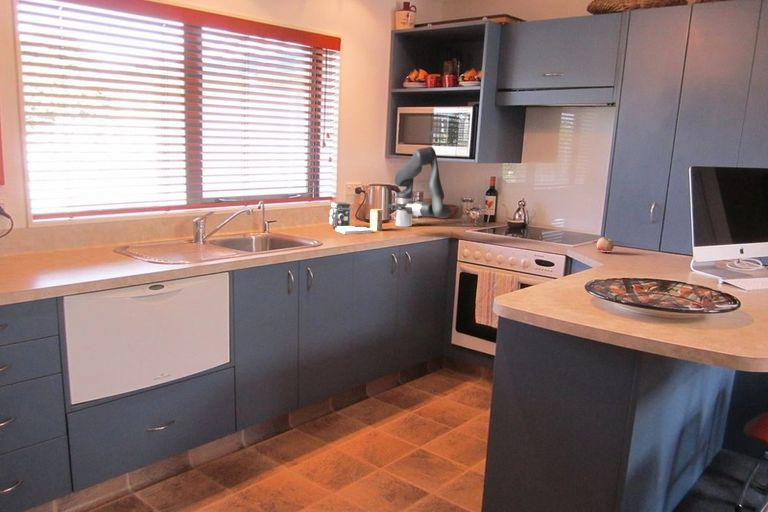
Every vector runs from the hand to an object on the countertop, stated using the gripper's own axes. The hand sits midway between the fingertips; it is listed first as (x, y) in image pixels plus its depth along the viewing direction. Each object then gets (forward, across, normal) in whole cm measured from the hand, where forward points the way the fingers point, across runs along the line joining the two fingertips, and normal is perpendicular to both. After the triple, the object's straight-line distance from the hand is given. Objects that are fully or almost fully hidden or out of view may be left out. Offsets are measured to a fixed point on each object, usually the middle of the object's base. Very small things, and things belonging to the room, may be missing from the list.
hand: (392, 205), depth 346 cm
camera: (+29, +12, +16) cm, 35 cm away
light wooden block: (+12, 0, +15) cm, 19 cm away
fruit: (-109, -37, +17) cm, 116 cm away
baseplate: (+16, +14, +15) cm, 26 cm away
